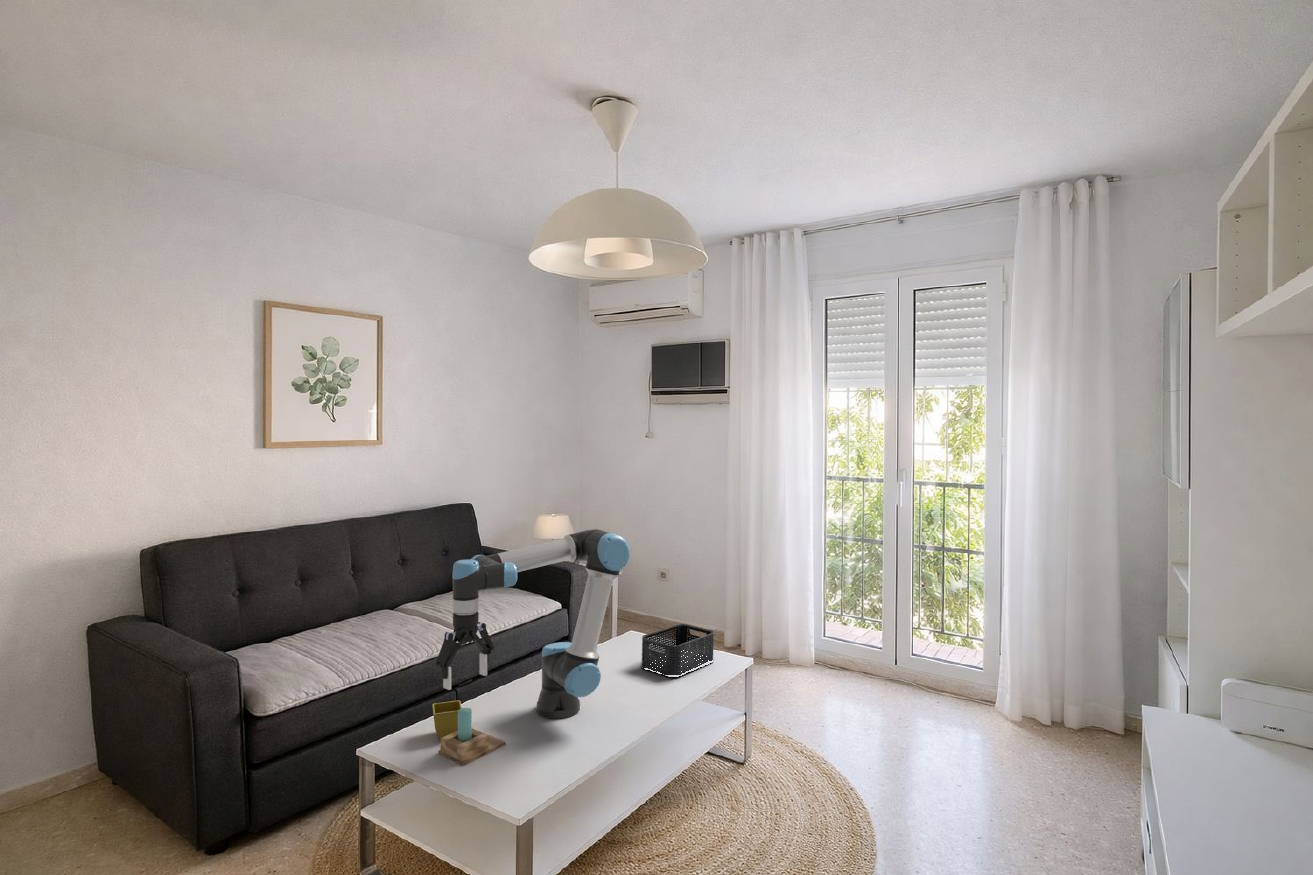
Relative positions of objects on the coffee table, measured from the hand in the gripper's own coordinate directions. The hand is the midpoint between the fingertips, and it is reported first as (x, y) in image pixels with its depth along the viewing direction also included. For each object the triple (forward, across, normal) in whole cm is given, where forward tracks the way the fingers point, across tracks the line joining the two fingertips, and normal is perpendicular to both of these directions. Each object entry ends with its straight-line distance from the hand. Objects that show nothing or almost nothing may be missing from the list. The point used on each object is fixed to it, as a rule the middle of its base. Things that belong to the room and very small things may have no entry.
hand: (465, 681), depth 208 cm
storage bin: (+23, -102, +10) cm, 105 cm away
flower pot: (+22, -4, -15) cm, 27 cm away
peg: (+21, 0, 0) cm, 21 cm away
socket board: (+22, -3, 0) cm, 22 cm away
